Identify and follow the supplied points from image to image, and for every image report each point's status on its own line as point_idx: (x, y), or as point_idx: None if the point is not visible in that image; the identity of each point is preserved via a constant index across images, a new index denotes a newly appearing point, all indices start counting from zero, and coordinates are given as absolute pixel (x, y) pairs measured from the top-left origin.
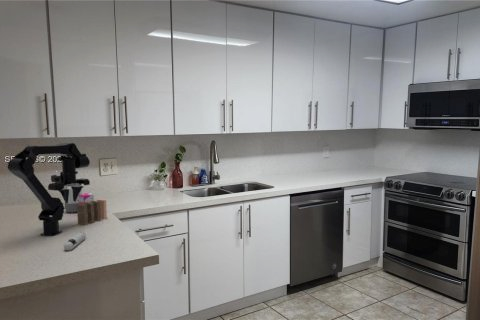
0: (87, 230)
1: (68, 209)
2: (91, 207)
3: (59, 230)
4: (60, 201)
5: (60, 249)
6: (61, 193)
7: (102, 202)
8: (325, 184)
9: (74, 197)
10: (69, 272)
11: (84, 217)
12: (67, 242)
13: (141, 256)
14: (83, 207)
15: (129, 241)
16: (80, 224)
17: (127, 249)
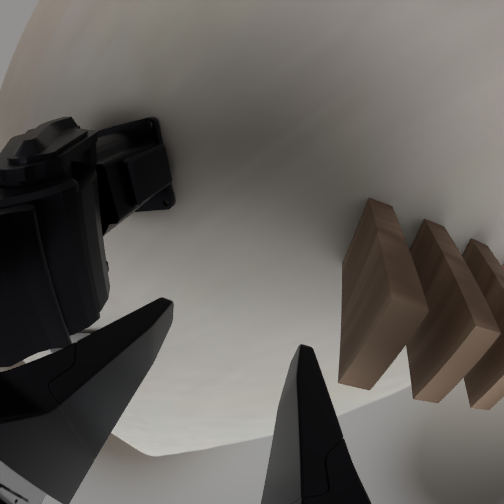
0: (242, 320)
1: None
2: (411, 368)
3: (166, 191)
4: (24, 352)
5: None
6: (27, 376)
7: None
8: None
9: (285, 406)
10: None
11: (343, 295)
12: (50, 351)
13: (130, 444)
14: (345, 354)
15: (185, 437)
16: (359, 222)
17: (141, 433)
